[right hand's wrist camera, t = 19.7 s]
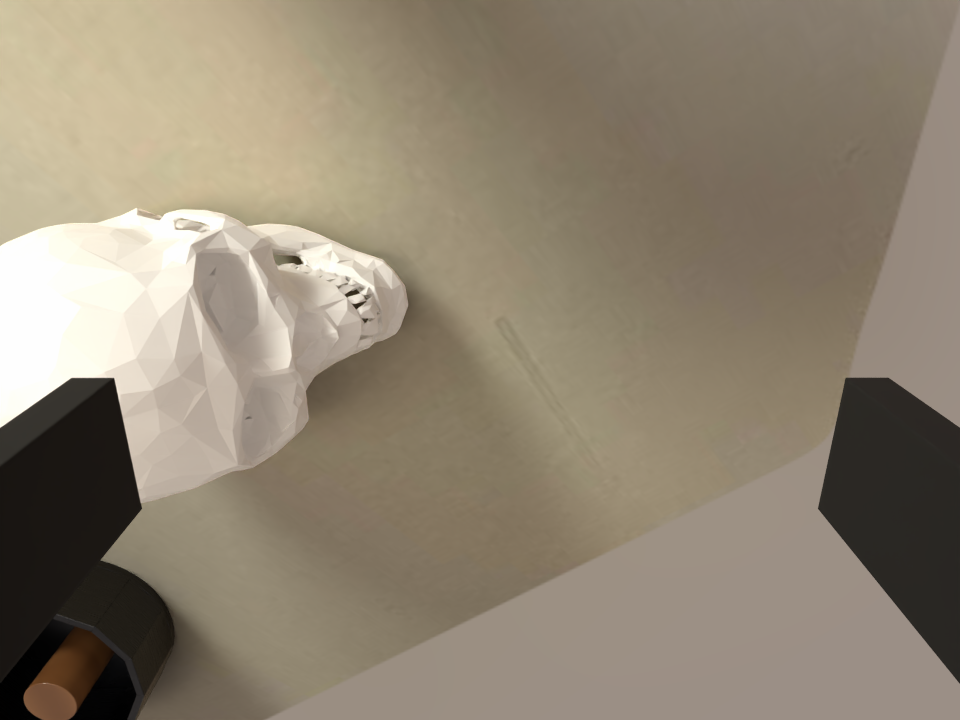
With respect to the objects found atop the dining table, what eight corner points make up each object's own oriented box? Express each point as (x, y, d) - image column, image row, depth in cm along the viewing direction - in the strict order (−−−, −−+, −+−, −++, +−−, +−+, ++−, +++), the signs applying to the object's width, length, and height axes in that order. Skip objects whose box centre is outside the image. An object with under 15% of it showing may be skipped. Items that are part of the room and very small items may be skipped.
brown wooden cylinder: (84, 655, 51) (35, 725, 45) (67, 619, 49) (14, 686, 44) (128, 650, 51) (84, 719, 45) (112, 613, 49) (65, 680, 44)
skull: (432, 377, 43) (404, 516, 28) (100, 432, 44) (-95, 592, 29) (386, 160, 39) (323, 187, 24) (19, 229, 40) (-258, 295, 25)
